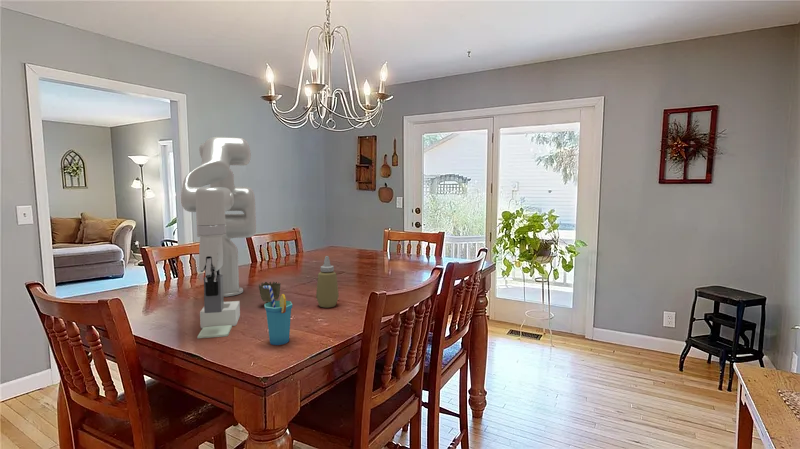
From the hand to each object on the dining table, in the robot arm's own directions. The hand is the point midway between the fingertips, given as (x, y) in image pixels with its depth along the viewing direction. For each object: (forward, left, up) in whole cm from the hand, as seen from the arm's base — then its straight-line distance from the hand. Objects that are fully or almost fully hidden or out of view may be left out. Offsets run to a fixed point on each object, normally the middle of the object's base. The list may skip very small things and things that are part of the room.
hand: (213, 292), depth 120 cm
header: (-10, 0, -12) cm, 16 cm away
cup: (+11, +18, -12) cm, 24 cm away
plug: (0, 0, -5) cm, 5 cm away
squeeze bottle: (-20, +34, -12) cm, 41 cm away
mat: (0, 0, -12) cm, 12 cm away
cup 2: (-25, +14, -12) cm, 31 cm away
